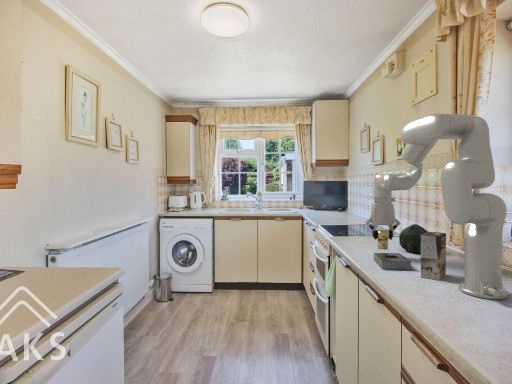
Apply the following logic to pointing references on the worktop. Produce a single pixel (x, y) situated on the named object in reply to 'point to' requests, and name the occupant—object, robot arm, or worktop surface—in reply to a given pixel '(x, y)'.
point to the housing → (392, 261)
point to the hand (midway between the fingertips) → (382, 238)
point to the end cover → (383, 238)
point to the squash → (412, 238)
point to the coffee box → (433, 255)
